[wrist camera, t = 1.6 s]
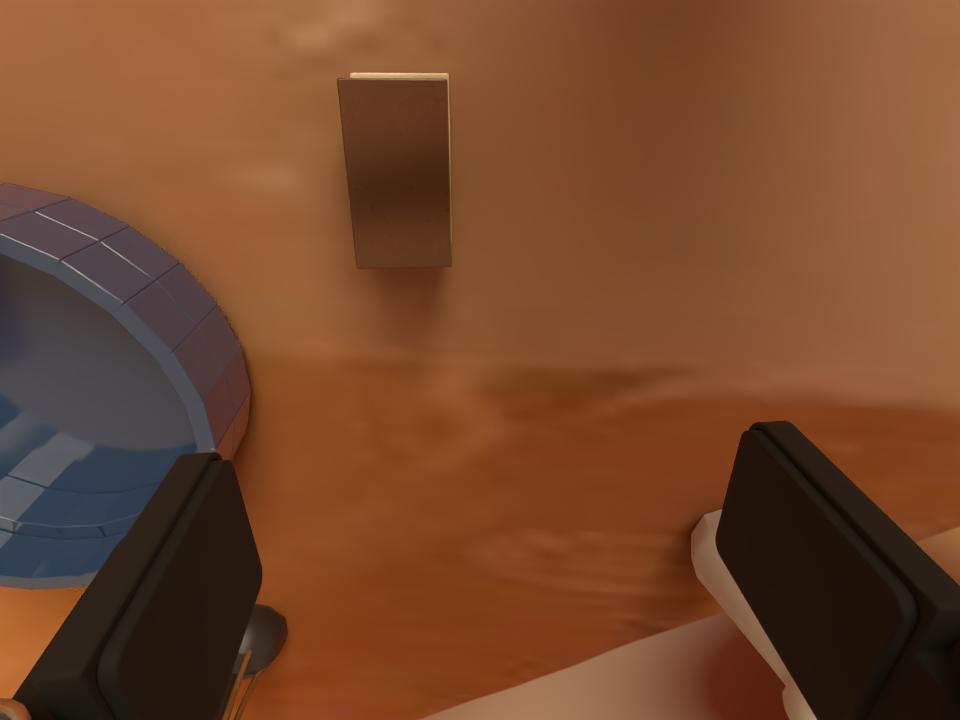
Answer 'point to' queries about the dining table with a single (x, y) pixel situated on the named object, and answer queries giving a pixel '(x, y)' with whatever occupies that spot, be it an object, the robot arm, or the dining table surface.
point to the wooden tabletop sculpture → (254, 656)
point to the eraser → (398, 167)
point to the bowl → (98, 383)
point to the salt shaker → (740, 609)
